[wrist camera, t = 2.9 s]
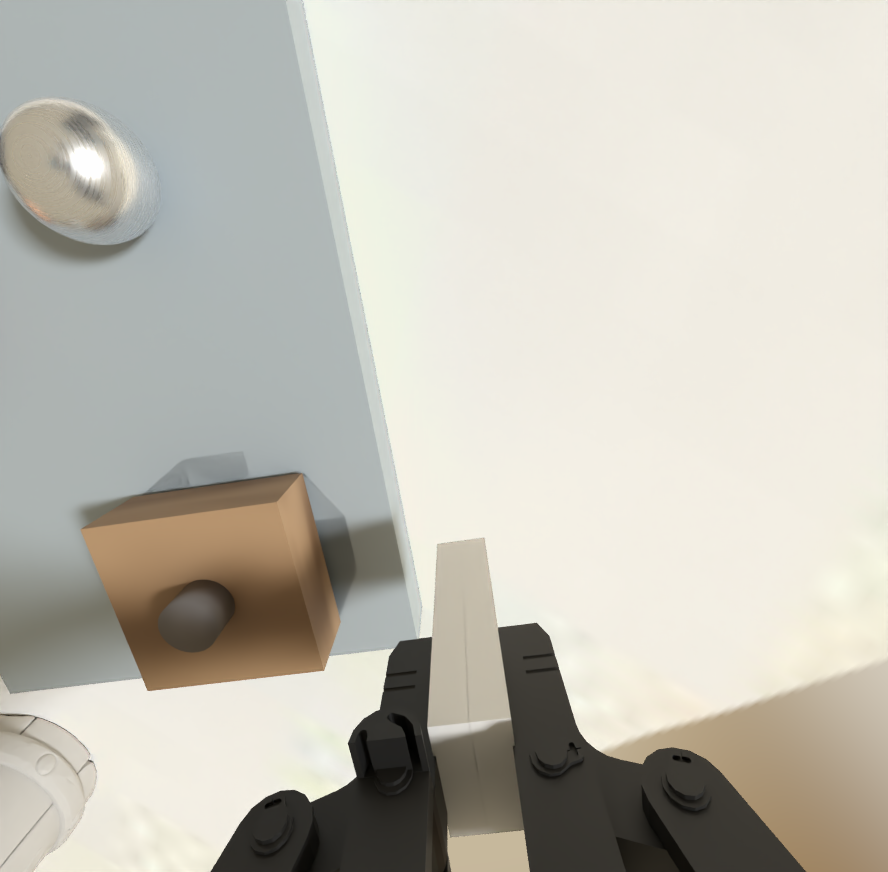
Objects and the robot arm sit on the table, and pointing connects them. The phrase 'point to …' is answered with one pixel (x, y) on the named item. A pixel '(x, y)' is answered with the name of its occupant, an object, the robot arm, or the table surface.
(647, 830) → the robot arm
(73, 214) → the steel ball
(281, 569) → the cover
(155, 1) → the board
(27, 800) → the mug
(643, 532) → the table surface
